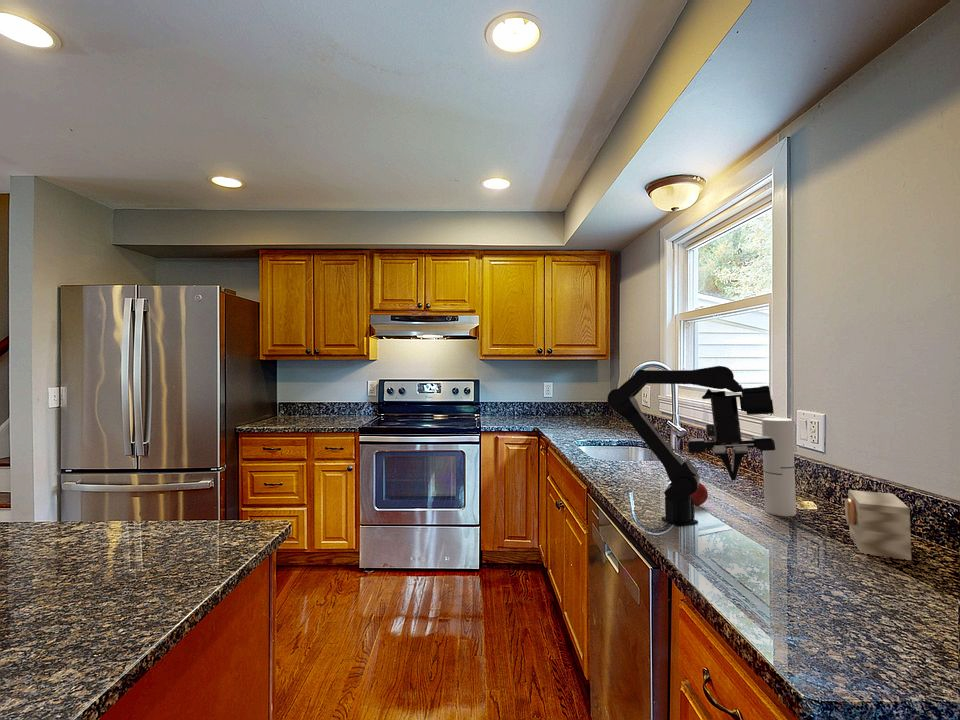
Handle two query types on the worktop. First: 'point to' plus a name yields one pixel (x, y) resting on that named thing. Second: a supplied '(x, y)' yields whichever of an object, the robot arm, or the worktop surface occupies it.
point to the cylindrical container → (779, 467)
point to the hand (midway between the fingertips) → (733, 479)
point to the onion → (699, 495)
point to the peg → (850, 511)
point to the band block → (881, 525)
